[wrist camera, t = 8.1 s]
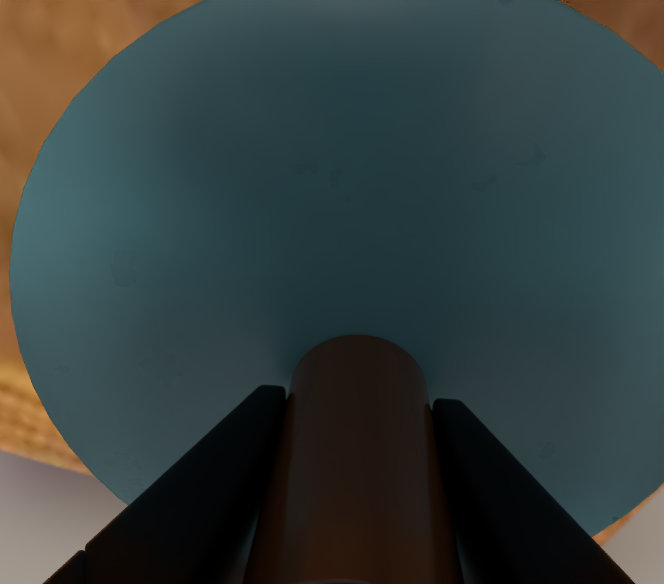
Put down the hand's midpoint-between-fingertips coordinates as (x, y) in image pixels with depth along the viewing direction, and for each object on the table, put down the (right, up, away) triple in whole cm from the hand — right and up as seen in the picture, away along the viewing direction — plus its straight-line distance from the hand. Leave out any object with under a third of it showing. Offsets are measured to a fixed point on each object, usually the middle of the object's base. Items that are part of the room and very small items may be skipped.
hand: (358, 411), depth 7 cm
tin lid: (0, 0, +1) cm, 1 cm away
